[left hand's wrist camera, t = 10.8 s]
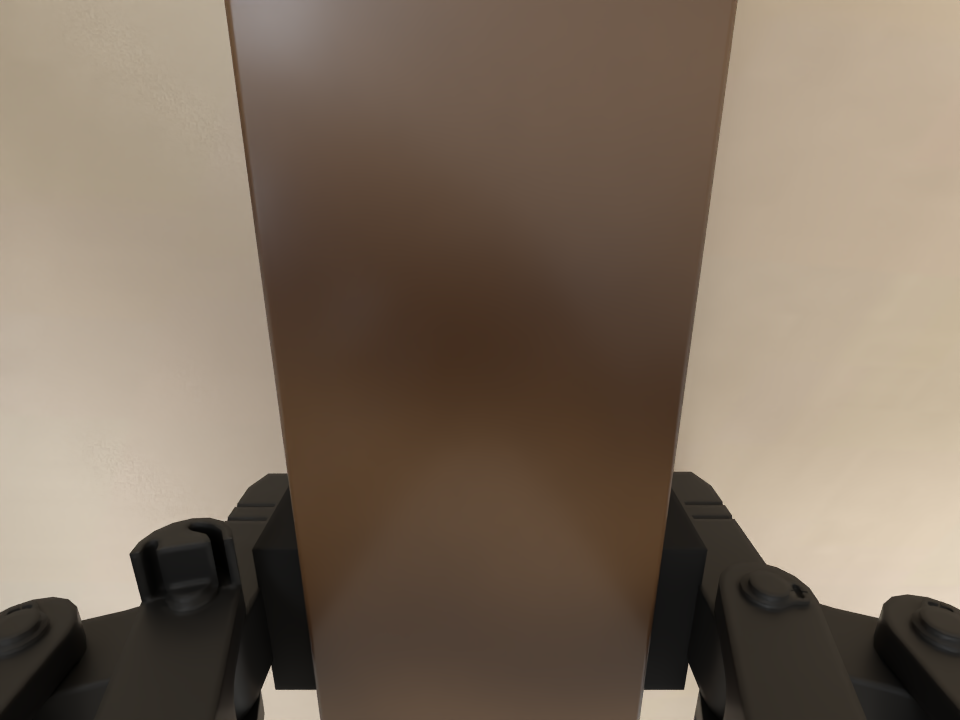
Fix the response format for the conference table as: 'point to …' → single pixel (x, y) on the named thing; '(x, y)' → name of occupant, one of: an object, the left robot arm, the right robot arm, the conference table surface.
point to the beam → (480, 331)
